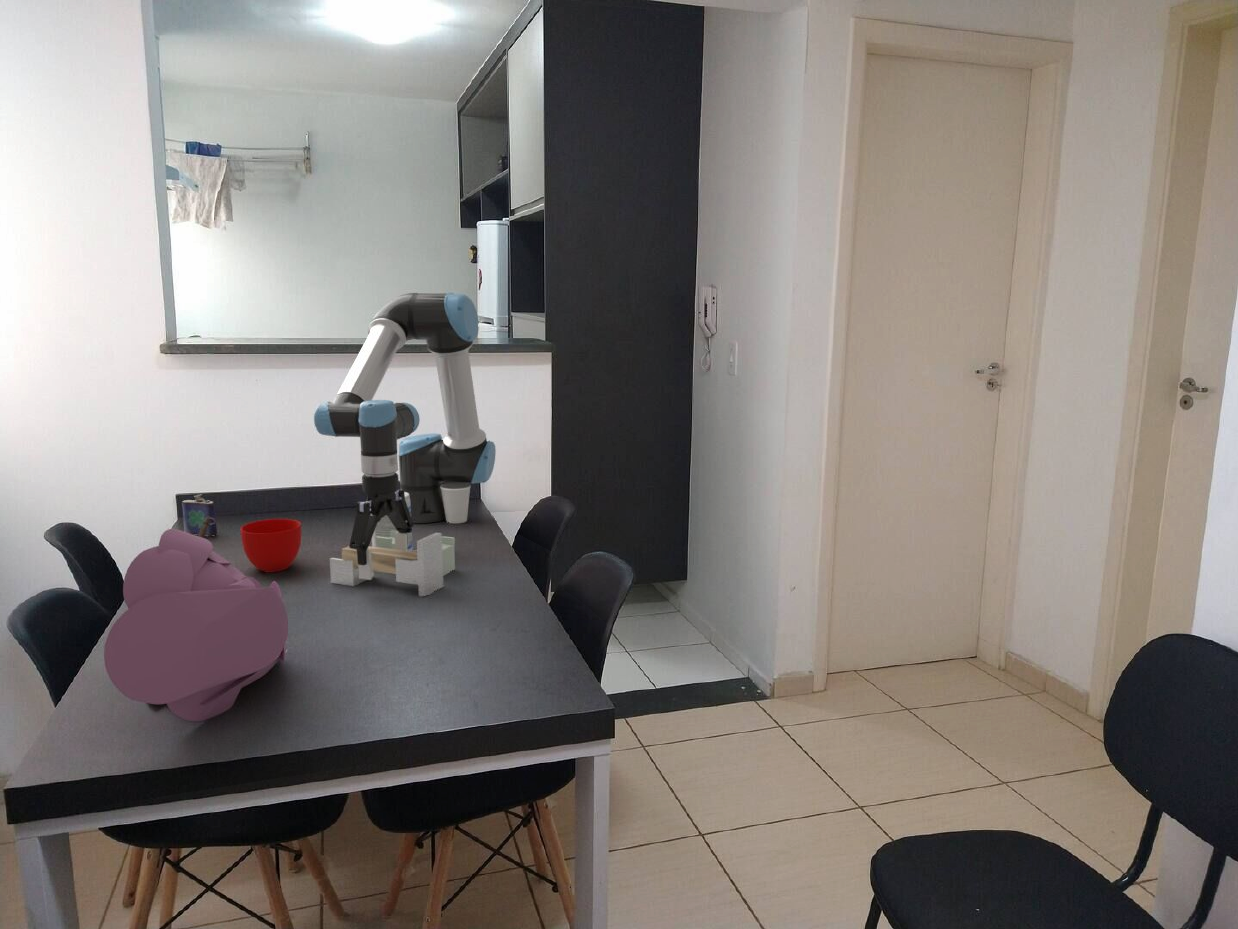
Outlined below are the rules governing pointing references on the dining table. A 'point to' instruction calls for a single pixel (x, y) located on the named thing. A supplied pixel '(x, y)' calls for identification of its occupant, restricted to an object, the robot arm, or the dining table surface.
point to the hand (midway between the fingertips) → (384, 569)
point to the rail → (380, 558)
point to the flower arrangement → (193, 629)
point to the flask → (198, 515)
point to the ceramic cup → (271, 543)
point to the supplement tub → (391, 527)
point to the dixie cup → (456, 501)
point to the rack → (447, 549)
